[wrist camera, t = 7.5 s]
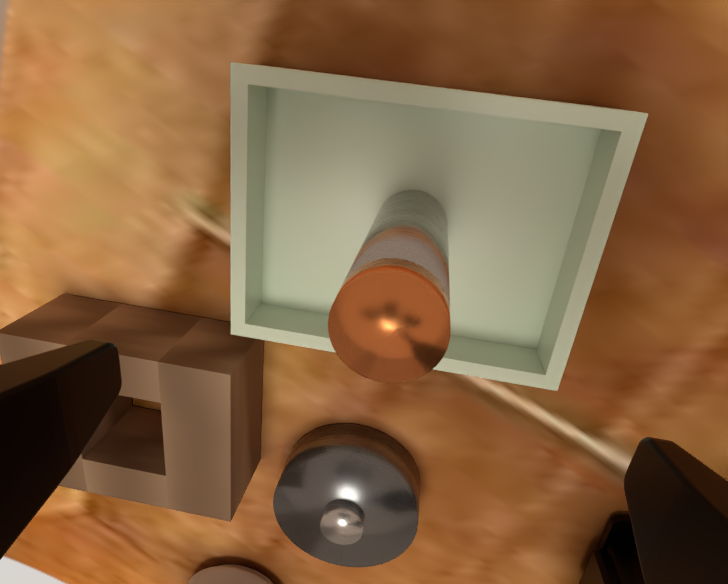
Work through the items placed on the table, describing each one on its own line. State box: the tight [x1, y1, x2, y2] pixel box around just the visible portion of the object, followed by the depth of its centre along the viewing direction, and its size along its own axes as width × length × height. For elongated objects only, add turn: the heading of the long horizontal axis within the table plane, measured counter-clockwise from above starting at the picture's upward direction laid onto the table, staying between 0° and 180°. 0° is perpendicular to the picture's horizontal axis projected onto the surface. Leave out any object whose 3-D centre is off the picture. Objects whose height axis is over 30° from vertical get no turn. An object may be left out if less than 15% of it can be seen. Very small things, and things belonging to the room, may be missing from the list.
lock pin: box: [328, 189, 451, 383], centre depth 15 cm, size 3×3×9 cm
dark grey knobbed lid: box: [273, 423, 420, 567], centre depth 24 cm, size 7×7×3 cm
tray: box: [230, 62, 648, 391], centre depth 19 cm, size 13×10×2 cm
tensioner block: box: [0, 294, 264, 522], centre depth 23 cm, size 10×8×4 cm
